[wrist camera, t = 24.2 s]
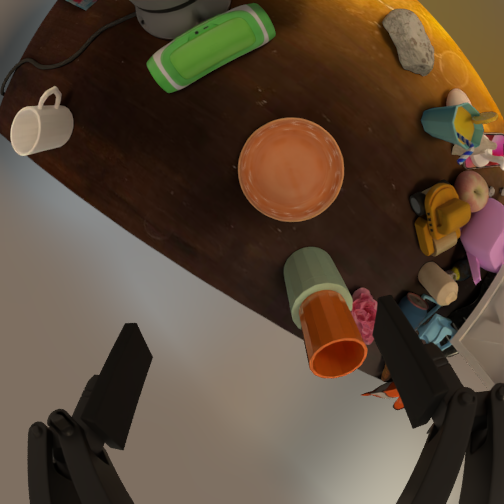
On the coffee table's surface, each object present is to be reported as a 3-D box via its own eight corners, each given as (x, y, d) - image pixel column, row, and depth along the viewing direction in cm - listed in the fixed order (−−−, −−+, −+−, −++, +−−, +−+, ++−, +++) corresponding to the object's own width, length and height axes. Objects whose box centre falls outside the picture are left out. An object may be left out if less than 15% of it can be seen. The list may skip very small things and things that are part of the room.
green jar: (277, 286, 51) (284, 329, 41) (291, 241, 48) (303, 278, 37) (323, 294, 52) (338, 335, 41) (339, 252, 48) (362, 288, 38)
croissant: (380, 387, 57) (368, 374, 61) (391, 379, 61) (379, 368, 65) (413, 349, 52) (399, 335, 56) (422, 343, 57) (408, 331, 60)
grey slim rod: (502, 193, 42) (506, 197, 41) (472, 195, 43) (476, 199, 42) (504, 185, 41) (508, 189, 40) (474, 186, 41) (479, 190, 40)
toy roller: (419, 253, 48) (447, 278, 39) (403, 187, 43) (436, 203, 33) (450, 236, 47) (480, 257, 37) (438, 171, 41) (473, 183, 32)
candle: (441, 263, 50) (466, 287, 41) (430, 285, 52) (453, 311, 43) (424, 259, 49) (449, 284, 40) (413, 281, 51) (436, 309, 42)
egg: (471, 131, 35) (466, 92, 32) (478, 130, 31) (471, 87, 28) (447, 129, 38) (441, 90, 35) (451, 128, 34) (444, 84, 31)
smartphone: (462, 133, 37) (504, 133, 35) (459, 132, 38) (502, 132, 36) (464, 170, 40) (505, 165, 38) (461, 168, 41) (502, 164, 39)
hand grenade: (480, 259, 45) (450, 273, 46) (479, 276, 46) (449, 291, 47) (468, 252, 49) (438, 265, 50) (468, 269, 50) (438, 283, 51)
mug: (91, 97, 36) (58, 95, 27) (62, 154, 40) (28, 164, 31) (65, 80, 33) (31, 77, 24) (38, 135, 37) (5, 142, 28)
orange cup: (292, 325, 40) (301, 376, 31) (307, 285, 37) (322, 335, 28) (335, 330, 41) (351, 379, 32) (353, 293, 38) (377, 340, 29)
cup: (420, 165, 41) (473, 185, 27) (395, 132, 39) (449, 141, 25) (458, 119, 36) (513, 127, 23) (436, 87, 34) (491, 85, 21)
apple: (442, 175, 43) (464, 168, 35) (468, 173, 42) (490, 167, 34) (449, 215, 44) (472, 213, 36) (475, 211, 43) (497, 209, 35)
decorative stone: (365, 35, 31) (377, 27, 27) (393, 5, 28) (406, -3, 23) (416, 85, 35) (432, 83, 30) (440, 53, 31) (456, 49, 26)
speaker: (145, 55, 31) (171, 88, 37) (140, 64, 27) (171, 102, 33) (247, 0, 28) (267, 36, 34) (260, -1, 23) (283, 42, 29)
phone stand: (402, 321, 56) (424, 356, 45) (423, 292, 53) (449, 326, 42) (421, 327, 57) (442, 360, 46) (441, 301, 54) (466, 332, 43)
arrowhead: (480, 117, 29) (439, 133, 38) (483, 126, 29) (440, 142, 38) (498, 145, 32) (459, 157, 41) (500, 154, 31) (460, 166, 41)
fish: (414, 409, 49) (432, 400, 56) (410, 361, 55) (428, 359, 63) (350, 417, 62) (376, 410, 70) (348, 376, 69) (373, 374, 76)
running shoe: (442, 364, 49) (451, 374, 54) (525, 282, 39) (526, 302, 43) (423, 332, 59) (435, 346, 63) (499, 257, 49) (504, 279, 53)
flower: (356, 273, 54) (396, 294, 47) (350, 309, 59) (385, 330, 52) (319, 298, 49) (363, 326, 41) (316, 335, 54) (353, 362, 46)
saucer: (218, 155, 41) (216, 157, 38) (304, 99, 37) (308, 97, 34) (275, 233, 47) (276, 240, 44) (355, 184, 43) (361, 188, 40)
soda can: (376, 329, 58) (402, 287, 53) (399, 338, 57) (426, 298, 52) (378, 347, 52) (408, 302, 47) (403, 356, 51) (434, 314, 46)
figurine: (491, 133, 35) (531, 152, 25) (490, 166, 39) (527, 189, 29) (469, 133, 36) (510, 152, 26) (469, 168, 40) (506, 192, 30)
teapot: (487, 176, 41) (527, 193, 29) (504, 212, 44) (538, 233, 32) (437, 244, 47) (473, 274, 36) (459, 273, 51) (489, 304, 39)
